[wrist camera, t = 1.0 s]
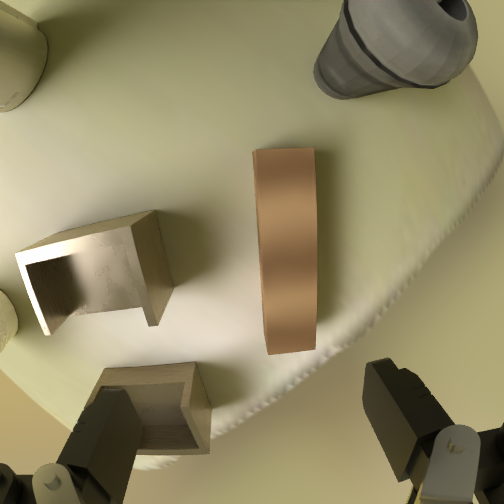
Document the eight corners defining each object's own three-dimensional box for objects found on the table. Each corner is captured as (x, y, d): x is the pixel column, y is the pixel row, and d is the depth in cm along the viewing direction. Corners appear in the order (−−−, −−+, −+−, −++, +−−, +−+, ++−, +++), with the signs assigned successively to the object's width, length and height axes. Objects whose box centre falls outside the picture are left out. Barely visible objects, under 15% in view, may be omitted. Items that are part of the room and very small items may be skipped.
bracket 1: (55, 233, 24) (15, 253, 18) (155, 209, 24) (130, 225, 18) (76, 302, 26) (45, 335, 20) (173, 288, 26) (158, 325, 20)
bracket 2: (211, 409, 30) (209, 453, 24) (127, 413, 30) (114, 453, 24) (195, 361, 28) (188, 407, 22) (104, 368, 28) (83, 408, 22)
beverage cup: (298, 112, 22) (476, 4, 3) (294, 34, 20) (398, -137, 1) (379, 119, 23) (590, 91, 4) (373, 44, 21) (536, -52, 2)
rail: (252, 152, 24) (255, 149, 20) (301, 149, 24) (314, 147, 20) (263, 330, 28) (268, 355, 24) (305, 326, 28) (315, 349, 24)
